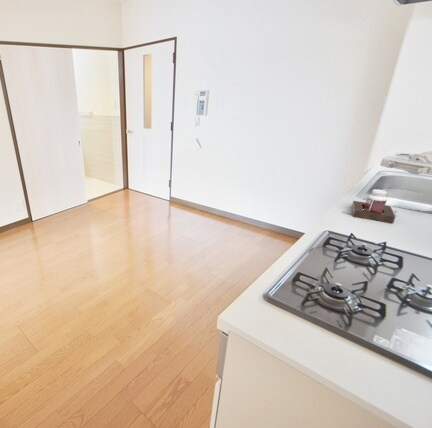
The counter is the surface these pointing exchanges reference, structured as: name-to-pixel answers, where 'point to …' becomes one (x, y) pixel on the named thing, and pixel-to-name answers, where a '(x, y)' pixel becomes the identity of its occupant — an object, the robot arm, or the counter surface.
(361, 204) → the holder
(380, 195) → the pill bottle
